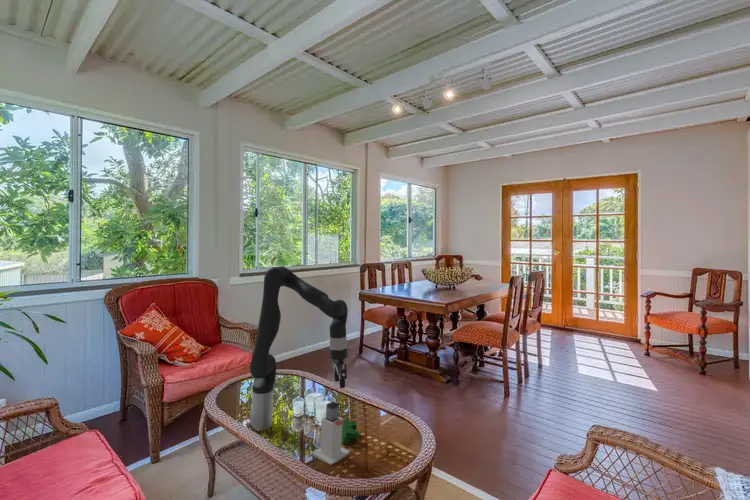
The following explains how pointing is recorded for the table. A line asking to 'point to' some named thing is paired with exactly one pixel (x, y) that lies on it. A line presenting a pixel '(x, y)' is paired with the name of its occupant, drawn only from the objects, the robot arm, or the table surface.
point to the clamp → (349, 431)
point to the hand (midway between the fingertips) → (339, 384)
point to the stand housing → (331, 442)
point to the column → (332, 411)
